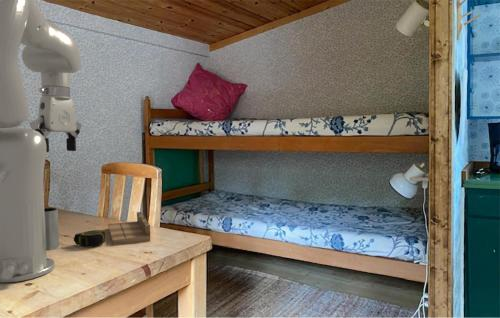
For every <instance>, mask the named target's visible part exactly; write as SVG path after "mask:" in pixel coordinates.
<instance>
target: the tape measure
mask: <svg viewBox="0 0 500 318" xmlns="http://www.w3.org/2000/svg"><path fill="white" fill-rule="evenodd" d="M73 242H74V243H75V245H79V246H80V247H86V248H87V247H88V248H89V247H98V246H100V245H103V244H104V243H105V242H106V233H105V231H104V230H101V229H95V230H87V231H84V232H79V233H76V234H74V236H73Z"/></svg>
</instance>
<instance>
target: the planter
mask: <svg viewBox="0 0 500 318" xmlns="http://www.w3.org/2000/svg"><path fill="white" fill-rule="evenodd" d="M58 210H59V209H58V208H56V207H46V208H45V207H44V214H45V236H46V251H49V250H50V251H51V250H55V249H58V248H59V247H60V238H59V237H60V234H59V233H60V232H59V216H58V215H59V214H58V212H59V211H58Z"/></svg>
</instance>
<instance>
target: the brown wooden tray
mask: <svg viewBox="0 0 500 318" xmlns="http://www.w3.org/2000/svg"><path fill="white" fill-rule="evenodd" d="M107 224H108V223H107ZM107 226H108V232H109V236H110V241H111V244H112V246H119V245H127V244H129V245H130V244H137V243H145V242H151V225H150V223H149V222H148V220H147V219H146V217H145V216H144V214H143V213H142V212H141V211H137V212H136V221H127V222H126V221H125V222H116V223H115V222H114V223H109V224H108V225H107Z"/></svg>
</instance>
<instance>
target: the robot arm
mask: <svg viewBox="0 0 500 318" xmlns="http://www.w3.org/2000/svg"><path fill="white" fill-rule="evenodd" d="M42 13H43V12H41V9H40V7H39V6H38V3H37V2H36V0H0V174H4V176H3V177H2V179H1V180H0V283H2V284H3V283H16V282H23V281H27V280H32V279H35V278H39V277H41V276H44V275H46V274H48V273H50V272H51V271H53V270H54V269H55V266H56V265H55V261H54V259H52V258H49V257H47V250H46V236H45V214H44V208H45V195H44V193H45V191H44V190H45V189H44V188H45V187H44V177H45V176H44V175H45V164H46V158H47V153H49V152H50V140H49V137H48V136H49V135H50V133H65V135H66V136H67V137H66V151H67V152H76V151H77V142H76V141H77V138H78V135H79V134H80V132H81V129H82V124H81V122H79V121H78V120H77V116H76V115H77V113H76V109H75V108H76V107H75V103H74V100H73V99H71V82H70V81H71V77H70V74H75V73H77V72H78V71H80V69H81V67H82V56H81V55H82V54H81V52H80V50H79V47H78V44H77V42H76V40H75V39H74V37H73V36H72V35H71V34H70V33H69V32H68V31H66V30H65V29H63V28H61V27H60V26H58V25H56V24H54V23H53V22H51V21H49V20H47V19H45V17H44V14H42ZM20 45H24V48H23V49H22V52H21V60H22V63H23V64H24V66H25V67H26V68H27V69H28V70H29V71H32V72H35V73H40V77H41V79H40V80H41V81H40V82H41V87H39V89H38V91H39V93H41V97H40V98H39V103H38V114H37V115H38V116H37V117H38V118H35V119H33V120H32V121H30V122H29V126H30V128H26V127H20V126H23V125H24V124H25V123H26V122H28V119H29V115H30V111H29V103H28V98H27V94H26V91H25V85H24V83H23V82H24V81H23V78H22V74H21V70H20V69H21V68H20V65H19V58H18V57H19V50H20V49H19V48H20Z"/></svg>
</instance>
